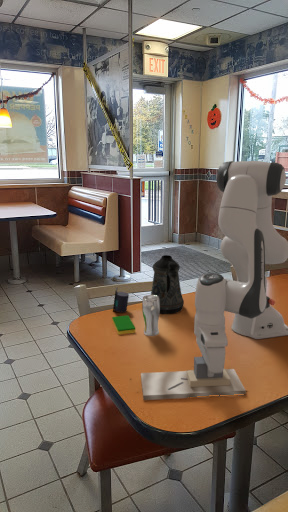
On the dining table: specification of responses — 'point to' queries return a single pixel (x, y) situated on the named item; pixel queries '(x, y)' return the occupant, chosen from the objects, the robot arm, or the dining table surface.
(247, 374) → the dining table surface
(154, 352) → the dining table surface
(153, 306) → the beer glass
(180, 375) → the marked board
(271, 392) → the dining table surface
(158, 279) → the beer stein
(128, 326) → the dish sponge
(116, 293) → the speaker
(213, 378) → the block
